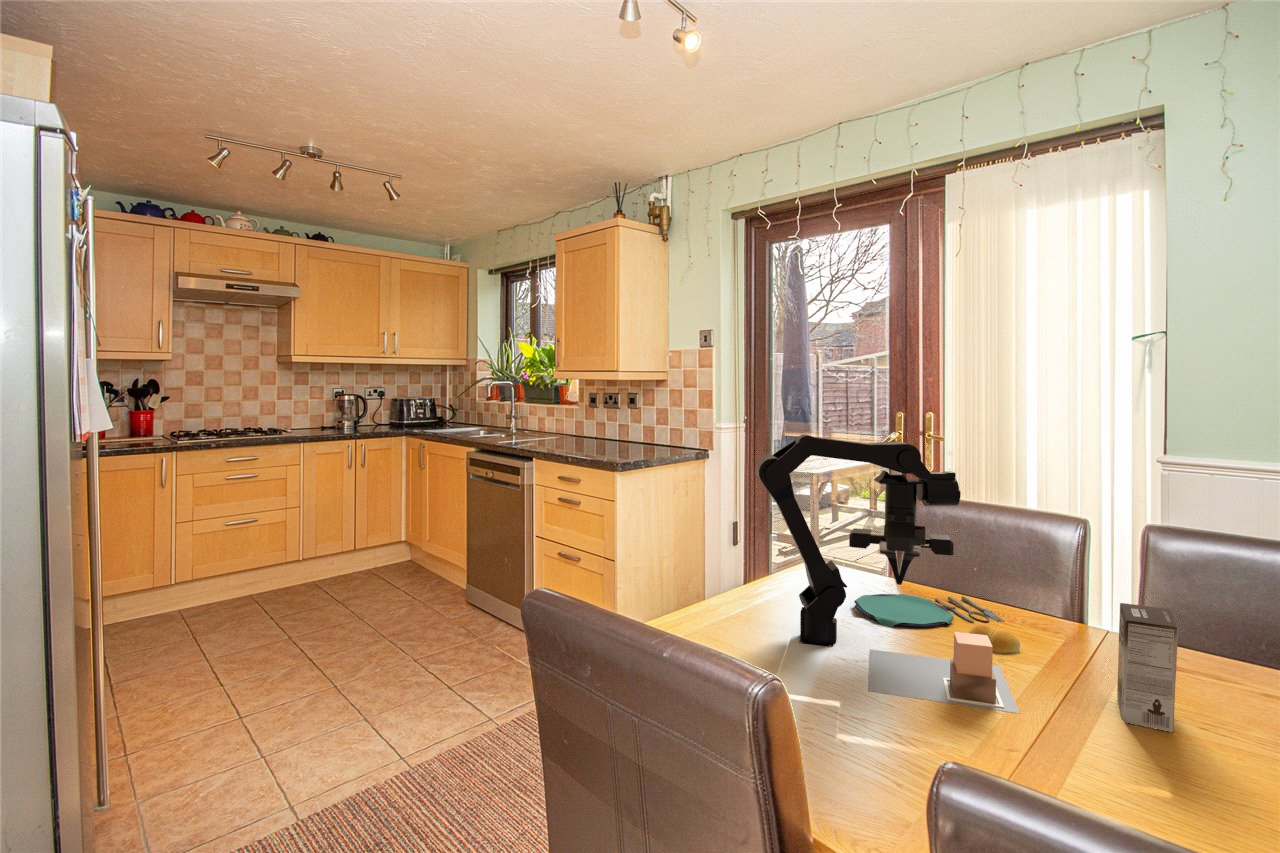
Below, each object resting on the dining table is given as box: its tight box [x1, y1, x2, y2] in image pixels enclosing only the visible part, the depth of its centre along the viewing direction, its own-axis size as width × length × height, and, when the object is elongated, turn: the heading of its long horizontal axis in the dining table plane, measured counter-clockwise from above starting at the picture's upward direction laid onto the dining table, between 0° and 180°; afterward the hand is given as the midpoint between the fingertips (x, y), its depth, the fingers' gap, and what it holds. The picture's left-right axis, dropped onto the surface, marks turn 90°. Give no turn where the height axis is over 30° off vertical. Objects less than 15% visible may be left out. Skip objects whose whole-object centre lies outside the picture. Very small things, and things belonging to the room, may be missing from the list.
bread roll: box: [967, 623, 1021, 654], centre depth 125 cm, size 8×9×4 cm
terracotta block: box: [953, 631, 994, 677], centre depth 105 cm, size 5×5×5 cm
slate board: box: [867, 649, 1021, 714], centre depth 111 cm, size 22×18×1 cm
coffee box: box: [1116, 602, 1179, 733], centre depth 98 cm, size 9×6×16 cm
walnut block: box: [949, 658, 996, 704], centre depth 105 cm, size 6×6×4 cm
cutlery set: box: [853, 593, 1005, 628], centre depth 144 cm, size 20×30×2 cm, turn 95°
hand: (899, 584), depth 127 cm, fingers closed
